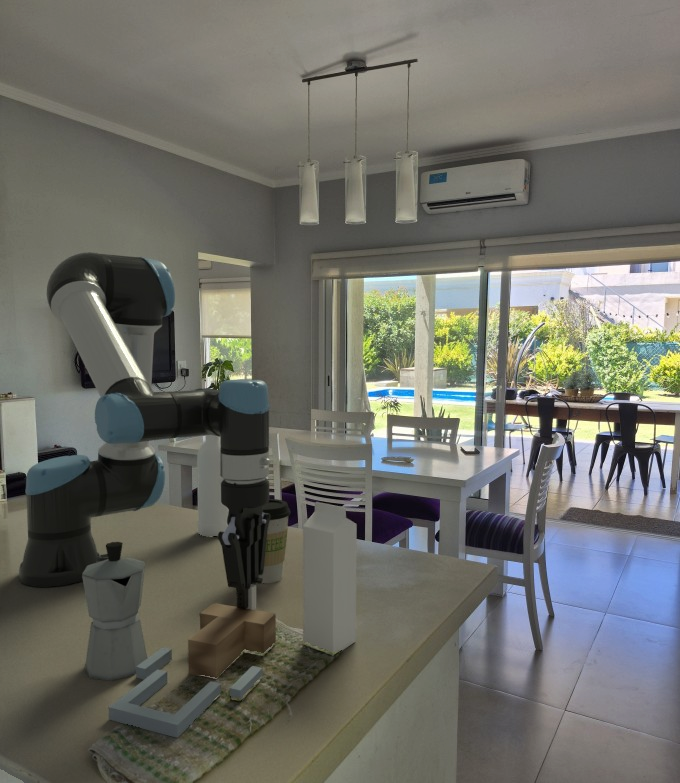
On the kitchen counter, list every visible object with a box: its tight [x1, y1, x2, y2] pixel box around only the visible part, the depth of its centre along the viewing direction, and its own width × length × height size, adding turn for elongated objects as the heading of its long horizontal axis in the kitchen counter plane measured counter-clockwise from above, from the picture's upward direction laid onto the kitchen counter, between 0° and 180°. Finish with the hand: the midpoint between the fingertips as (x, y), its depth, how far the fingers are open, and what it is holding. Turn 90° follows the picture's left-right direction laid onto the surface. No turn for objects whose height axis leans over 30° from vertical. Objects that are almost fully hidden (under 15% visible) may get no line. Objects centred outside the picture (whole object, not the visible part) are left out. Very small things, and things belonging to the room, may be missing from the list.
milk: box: [302, 501, 358, 653], centre depth 95 cm, size 6×6×22 cm
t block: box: [187, 602, 277, 678], centre depth 92 cm, size 11×12×5 cm
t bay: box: [108, 647, 263, 739], centre depth 81 cm, size 17×15×2 cm
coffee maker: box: [82, 541, 148, 682], centre depth 90 cm, size 15×9×18 cm, turn 33°
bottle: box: [196, 435, 229, 537], centre depth 152 cm, size 8×8×30 cm
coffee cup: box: [259, 498, 291, 585], centre depth 123 cm, size 10×10×15 cm
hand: (246, 624), depth 98 cm, fingers closed
